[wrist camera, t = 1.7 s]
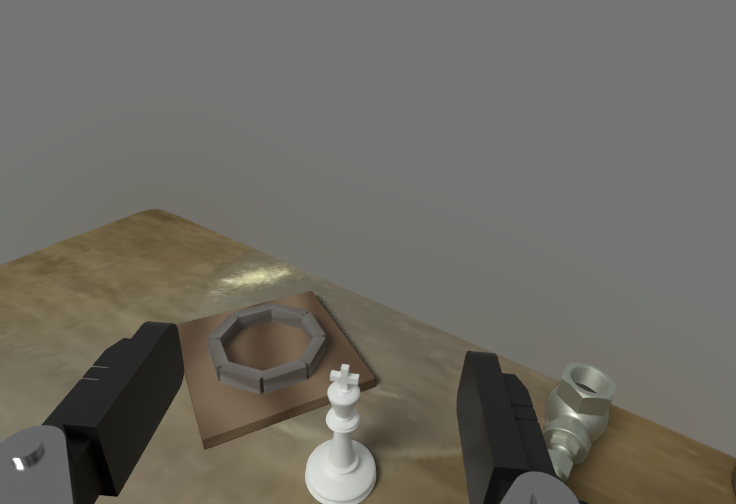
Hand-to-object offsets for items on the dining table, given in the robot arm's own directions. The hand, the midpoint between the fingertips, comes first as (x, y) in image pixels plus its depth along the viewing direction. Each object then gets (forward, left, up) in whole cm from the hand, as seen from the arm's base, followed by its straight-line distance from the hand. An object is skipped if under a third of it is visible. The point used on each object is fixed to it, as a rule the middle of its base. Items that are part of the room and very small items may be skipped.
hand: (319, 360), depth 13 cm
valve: (-19, -2, -21) cm, 28 cm away
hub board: (-4, -22, -20) cm, 30 cm away
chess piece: (-5, -9, -20) cm, 23 cm away
